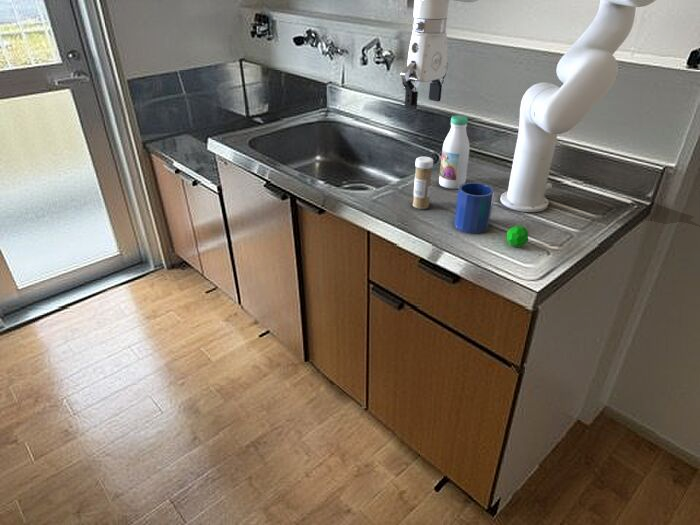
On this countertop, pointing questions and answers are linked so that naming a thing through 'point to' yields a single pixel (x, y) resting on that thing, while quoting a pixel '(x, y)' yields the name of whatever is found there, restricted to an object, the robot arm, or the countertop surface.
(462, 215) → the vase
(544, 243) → the countertop surface
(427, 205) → the sprinkles bottle
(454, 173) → the milk bottle
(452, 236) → the countertop surface
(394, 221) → the countertop surface
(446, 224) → the countertop surface
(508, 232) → the polyhedron
